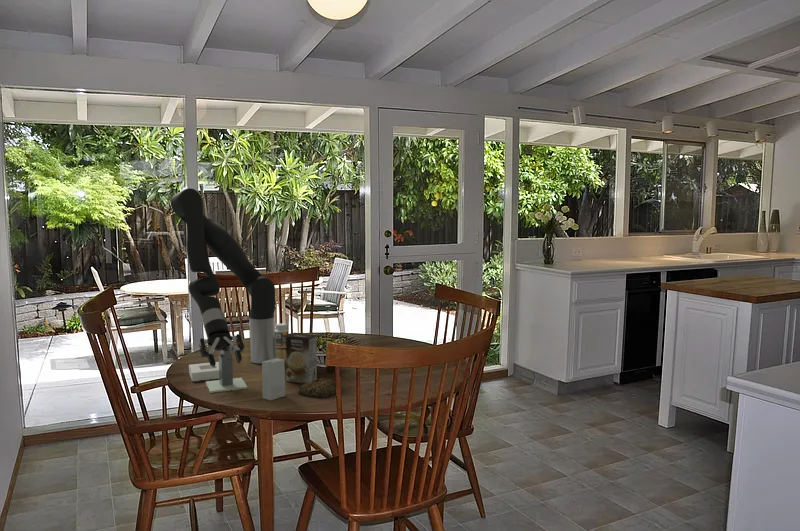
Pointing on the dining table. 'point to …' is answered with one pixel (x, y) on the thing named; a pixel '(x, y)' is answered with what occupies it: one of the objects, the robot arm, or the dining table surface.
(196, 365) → the key socket
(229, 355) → the t-key
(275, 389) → the skincare box
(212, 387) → the sage mat
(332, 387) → the brown rock
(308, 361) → the coffee box
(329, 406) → the dining table surface
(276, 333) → the pill bottle
